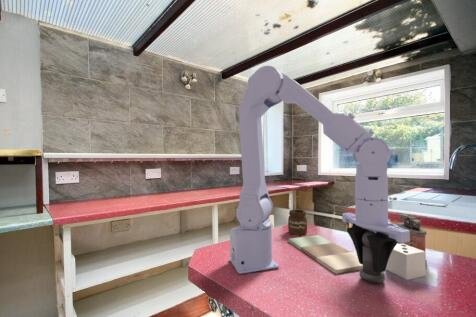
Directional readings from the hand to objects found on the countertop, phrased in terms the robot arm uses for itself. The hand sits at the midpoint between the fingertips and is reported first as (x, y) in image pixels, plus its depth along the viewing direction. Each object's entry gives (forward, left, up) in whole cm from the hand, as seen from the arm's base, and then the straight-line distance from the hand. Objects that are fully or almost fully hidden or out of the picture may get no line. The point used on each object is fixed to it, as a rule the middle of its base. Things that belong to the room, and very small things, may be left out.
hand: (371, 267), depth 49 cm
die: (+9, 0, -3) cm, 9 cm away
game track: (0, +15, -3) cm, 15 cm away
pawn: (0, 0, -2) cm, 2 cm away
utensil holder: (+2, +32, -3) cm, 32 cm away
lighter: (+17, +5, -3) cm, 18 cm away
